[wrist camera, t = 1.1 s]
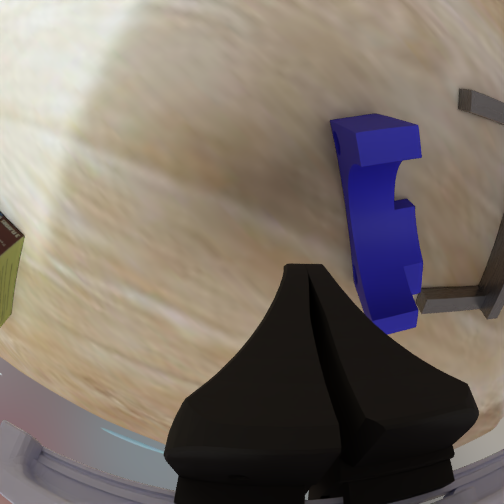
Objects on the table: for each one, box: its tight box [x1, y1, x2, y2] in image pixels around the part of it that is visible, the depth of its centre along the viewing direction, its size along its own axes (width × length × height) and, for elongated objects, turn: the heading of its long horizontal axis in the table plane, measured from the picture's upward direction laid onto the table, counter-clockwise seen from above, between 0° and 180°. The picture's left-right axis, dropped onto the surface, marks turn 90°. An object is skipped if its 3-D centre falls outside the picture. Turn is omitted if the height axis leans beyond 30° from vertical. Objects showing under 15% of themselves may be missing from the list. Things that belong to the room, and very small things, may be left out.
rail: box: [416, 89, 504, 319], centre depth 16 cm, size 8×18×3 cm, turn 1°
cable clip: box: [330, 114, 423, 334], centre depth 16 cm, size 12×4×6 cm, turn 15°
